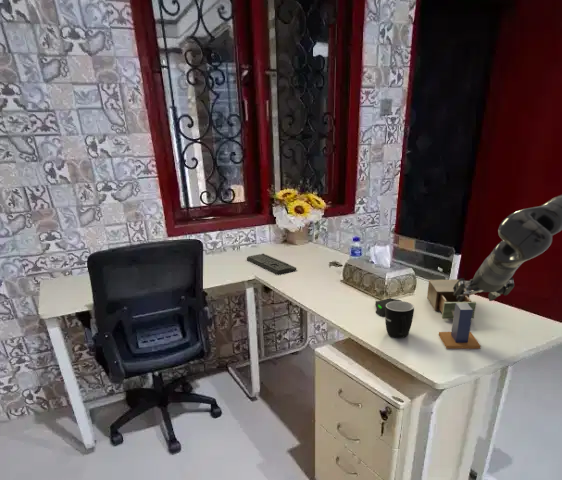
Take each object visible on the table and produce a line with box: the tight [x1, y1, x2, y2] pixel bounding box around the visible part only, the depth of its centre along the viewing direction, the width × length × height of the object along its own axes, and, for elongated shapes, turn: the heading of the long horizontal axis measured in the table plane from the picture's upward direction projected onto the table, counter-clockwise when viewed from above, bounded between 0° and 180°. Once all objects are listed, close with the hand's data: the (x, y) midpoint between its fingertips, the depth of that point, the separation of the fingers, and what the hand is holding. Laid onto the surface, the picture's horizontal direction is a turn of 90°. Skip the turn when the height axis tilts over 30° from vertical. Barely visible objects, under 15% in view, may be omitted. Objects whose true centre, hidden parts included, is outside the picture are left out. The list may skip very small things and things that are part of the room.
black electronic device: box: [374, 297, 402, 318], centre depth 156 cm, size 11×16×4 cm
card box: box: [450, 303, 473, 343], centre depth 129 cm, size 4×6×11 cm, turn 174°
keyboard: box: [246, 253, 297, 275], centre depth 220 cm, size 35×11×2 cm, turn 30°
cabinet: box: [426, 279, 471, 312], centre depth 158 cm, size 14×12×8 cm
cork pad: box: [438, 331, 481, 350], centre depth 131 cm, size 10×10×1 cm
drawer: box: [438, 294, 477, 320], centre depth 147 cm, size 17×10×6 cm, turn 174°
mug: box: [384, 300, 415, 339], centre depth 135 cm, size 12×9×10 cm
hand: (474, 298), depth 119 cm, fingers open, 8 cm apart
